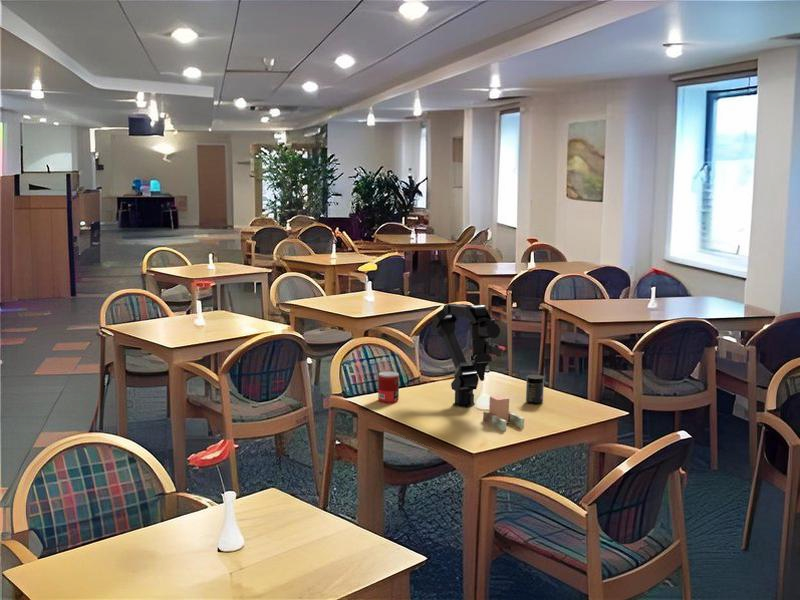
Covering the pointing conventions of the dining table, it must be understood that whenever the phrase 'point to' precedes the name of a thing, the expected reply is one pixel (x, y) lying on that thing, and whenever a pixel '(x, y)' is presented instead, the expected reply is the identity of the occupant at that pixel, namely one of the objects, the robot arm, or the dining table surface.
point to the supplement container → (534, 389)
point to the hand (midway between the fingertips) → (482, 380)
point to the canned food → (388, 387)
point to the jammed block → (499, 407)
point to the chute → (501, 422)
